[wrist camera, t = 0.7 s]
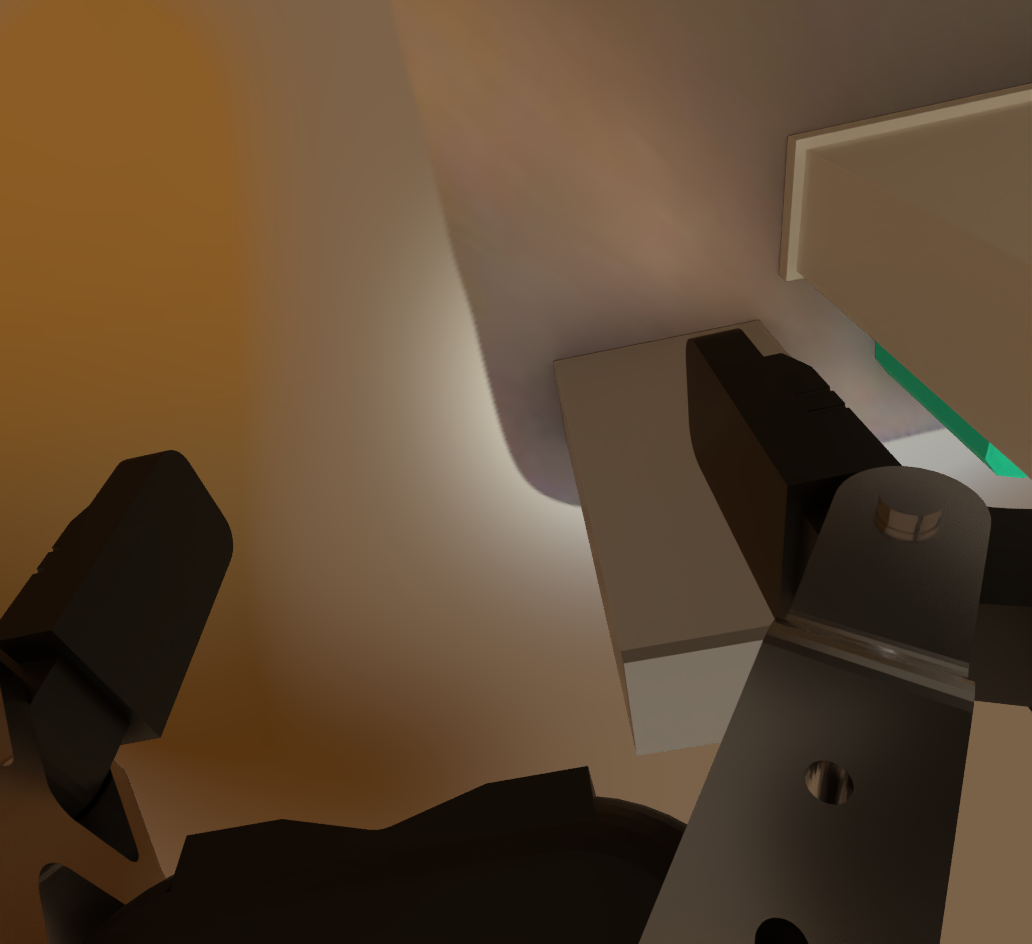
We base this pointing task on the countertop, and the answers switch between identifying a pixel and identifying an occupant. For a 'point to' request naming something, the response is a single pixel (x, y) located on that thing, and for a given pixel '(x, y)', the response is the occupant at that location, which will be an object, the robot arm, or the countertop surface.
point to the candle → (948, 417)
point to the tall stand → (929, 247)
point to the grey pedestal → (661, 542)
